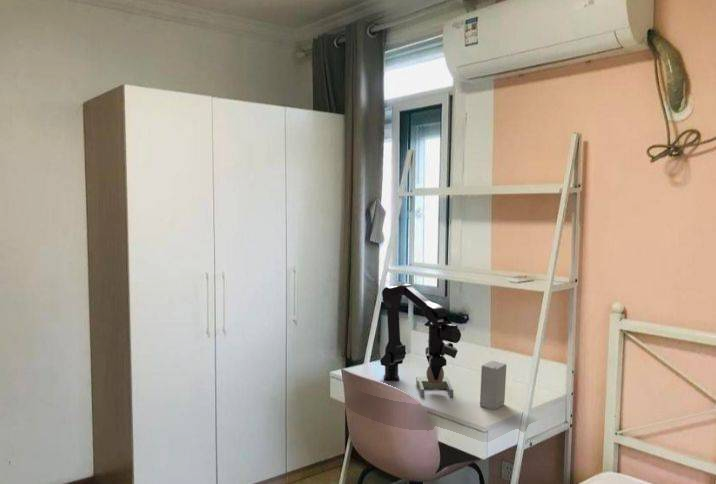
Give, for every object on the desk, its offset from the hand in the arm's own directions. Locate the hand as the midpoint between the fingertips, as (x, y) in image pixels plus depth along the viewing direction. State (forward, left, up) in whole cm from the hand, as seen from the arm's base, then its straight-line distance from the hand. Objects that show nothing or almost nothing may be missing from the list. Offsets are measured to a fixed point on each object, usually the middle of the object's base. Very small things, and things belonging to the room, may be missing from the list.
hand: (435, 377), depth 226 cm
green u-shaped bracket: (-2, 0, -6) cm, 6 cm away
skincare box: (+15, +20, -6) cm, 25 cm away
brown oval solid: (0, 0, -2) cm, 2 cm away
